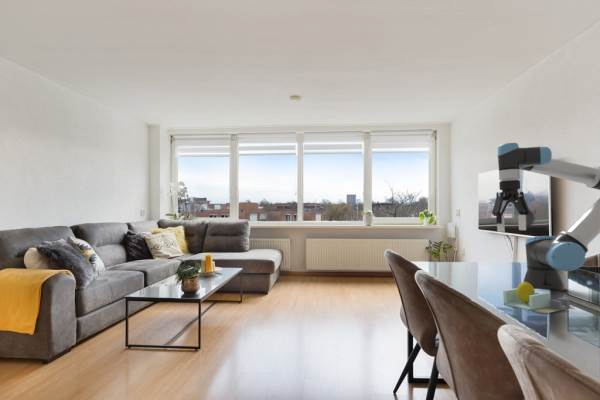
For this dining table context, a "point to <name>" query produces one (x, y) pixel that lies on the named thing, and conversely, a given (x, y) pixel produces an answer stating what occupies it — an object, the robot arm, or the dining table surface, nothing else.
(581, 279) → the dining table surface
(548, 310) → the board
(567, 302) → the clip
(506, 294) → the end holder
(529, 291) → the lemon
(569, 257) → the robot arm
